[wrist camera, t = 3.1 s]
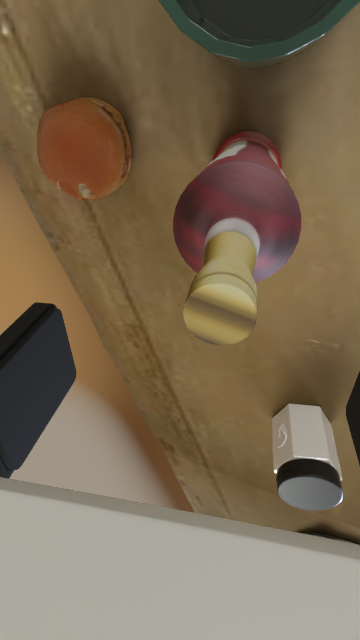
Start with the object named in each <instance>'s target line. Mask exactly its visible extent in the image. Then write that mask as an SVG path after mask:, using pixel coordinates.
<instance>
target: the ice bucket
mask: <svg viewBox="0 0 360 640" xmlns="http://www.w3.org/2000/svg"><path fill="white" fill-rule="evenodd" d="M159 1H160V3H161V4H162V5H163V7H164V8H165V10H166V11H167V13H168V14H169V15H170V17H171V18H172V20H173V21H174V22H175V24H176V25H177V27H178V28H179V29H180V31H181V32H183V33H184V34H185V35H187V36H188V37H190V38H191V39H192V40H194V41H195V42H197V43H198V44H199V45H201V46H202V47H203V48H205V49H206V50H208V51H209V52H210V53H212V54H213V55H215V56H216V57H217V58H219V59H220V60H222V61H224V62H227V63H231V64H235V65H239V66H243V67H248V68H250V67H251V68H255V67H262V66H268V65H275V64H280V63H282V62H284V61H286V60H288V59H290V58H292V57H293V56H295V55H297V54H299V53H301V52H303V51H305V50H306V49H308V48H310V47H311V46H312V45H313V44H315V43H316V42H317V41H318V40H320V39H321V38H322V37H323V36H324V35H326V34H327V33H328V32H329V31H330V30H331V29H332V28H333V27H334V26H335V25H336V24H337V23H338V22H339V21H340V20H341V19H342V18H343V17H344V16H345V15H346V14H347V13H349V12H350V11H351V10H352V9H353V8H354V7H355V6H356V5H357V4H358V3H359V2H360V0H159Z"/></svg>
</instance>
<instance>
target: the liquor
mask: <svg viewBox="0 0 360 640" xmlns="http://www.w3.org/2000/svg"><path fill="white" fill-rule="evenodd" d="M300 231H301V213H300V208H299V204H298V201H297V199H296V197H295V195H294V192H293V191H292V189H291V187H290V185H289V183H288V181H287V179H286V177H285V175H284V173H283V172H282V170H281V159H280V154H279V152H278V150H277V147H276V146H275V145H274V143H273V142H272V141H271V140H270V139H269V138H268V137H266V136H264V135H263V134H261V133H257V132H252V131H245V132H240V133H237V134H234V135H232V136H231V137H229V138H228V139H226V140H225V141H224V142H223V143H222V144H221V145H220V147H219V148H218V149H217V151H216V153H215V155H214V157H213V161H212V162H210V163H209V164H208V165H207V166H206V167H205V168H204V169H203V170H202V171H201V172H200V173H199V175H198V176H197V177H196V178H195V179H194V180H193V181H192V182H191V183H189V184H188V186H187V187H186V189H185V190H184V192H183V193H182V194H181V196H180V198H179V201H178V203H177V206H176V209H175V214H174V219H173V232H174V237H175V242H176V245H177V247H178V250H179V252H180V254H181V255H182V257H183V259H184V260H185V262H186V263H187V264H188V265H189V266H190V267H191V268H192V269H193V270H194V271H195V272H197V273H198V274H197V275H196V276H195V278H194V280H193V282H192V284H191V287H190V290H189V293H188V296H187V299H186V301H185V305H184V308H183V316H184V321H185V323H186V325H187V327H188V329H189V330H190V331H191V332H192V333H193V334H194V335H195V336H196V337H198V338H199V339H200V340H203V341H205V342H207V343H210V344H215V345H229V344H234V343H237V342H240V341H241V340H243V339H245V338H246V337H247V336H248V335H249V334H250V333H251V332H252V330H253V329H254V327H255V324H256V320H257V287H256V284H255V283H256V282H259V281H261V280H263V279H266V278H268V277H269V276H271V275H272V274H274V273H275V272H277V271H278V270H279V269H280V268H281V267H282V266H283V265H284V264H285V263H286V262H287V261H288V259H289V258H290V256H291V255H292V254H293V252H294V250H295V247H296V245H297V243H298V240H299V235H300Z"/></svg>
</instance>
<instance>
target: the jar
mask: <svg viewBox="0 0 360 640" xmlns="http://www.w3.org/2000/svg"><path fill="white" fill-rule="evenodd" d="M272 442H273V470H274V472H275V473H276V475H277V479H276V484H277V491H278V495H279V496H280V498H281V499H282V500H283V501H284V502H286V503H287V504H289V505H291V506H293V507H296V508H299V509H303V510H312V511H318V510H326V509H329V508H332V507H334V506H336V505H338V504H339V503H340V502H341V500H342V498H343V490H342V485H341V481H342V475H341V470H340V465H339V460H338V455H337V451H336V446H335V441H334V436H333V432H332V427H331V424H330V422H329V421H328V419H327V417H326V416H325V414H324V412H323V411H322V409H321V408H320V407H319V406H311V405H301V404H290V403H289V404H288V405H287V406H285V407H284V408H283V409H282V410H281V411H280V412H279V413H278V414H277V415H275V416H274V417H273V418H272Z"/></svg>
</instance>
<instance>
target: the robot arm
mask: <svg viewBox="0 0 360 640" xmlns="http://www.w3.org/2000/svg"><path fill="white" fill-rule="evenodd" d="M75 378H76V368H75V364H74V360H73V356H72V352H71V348H70V344H69V341H68V336H67V332H66V328H65V324H64V320H63V317H62V313H61V311H60V310H59V309H57V307H56V306H55V305H54V304H47V303H34V304H33V305H32V306H31V307H29V309H27V310H26V311H25V312H24V313H23V314H22V315H21V316H20V317H19V318H18V319H17V320H16V321H15V322H14V323H13V324H12V325H11V326H10V327H9V328H8V329H6V330H5V331H4V332H3V333H2V334H1V335H0V640H360V545H357V544H352V543H348V542H343V541H338V540H333V539H328V538H324V537H318V536H313V535H308V534H303V533H298V532H292V531H287V530H282V529H277V528H271V527H266V526H261V525H256V524H251V523H245V522H240V521H235V520H230V519H224V518H219V517H214V516H209V515H203V514H198V513H193V512H187V511H182V510H177V509H171V508H166V507H161V506H155V505H150V504H145V503H139V502H134V501H128V500H123V499H117V498H112V497H107V496H101V495H96V494H91V493H85V492H79V491H74V490H68V489H63V488H57V487H52V486H46V485H41V484H35V483H29V482H24V481H18V480H13V479H9V478H10V476H11V474H12V473H13V471H14V470H17V469H19V468H20V467H21V465H22V464H23V463H24V461H25V459H26V458H27V456H28V455H29V453H30V451H31V450H32V448H33V447H34V445H35V443H36V442H37V440H38V439H39V437H40V435H41V434H42V432H43V431H44V429H45V427H46V426H47V424H48V423H49V421H50V420H51V418H52V416H53V414H54V413H55V412H56V410H57V408H58V407H59V405H60V404H61V402H62V400H63V399H64V397H65V396H66V394H67V392H68V391H69V389H70V388H71V386H72V384H73V383H74V381H75ZM346 417H347V421H348V425H349V428H350V432H351V436H352V439H353V443H354V447H355V450H356V454H357V457H358V461H359V465H360V372H359V374H358V377H357V380H356V382H355V385H354V387H353V390H352V393H351V395H350V398H349V400H348V403H347V406H346Z"/></svg>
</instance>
